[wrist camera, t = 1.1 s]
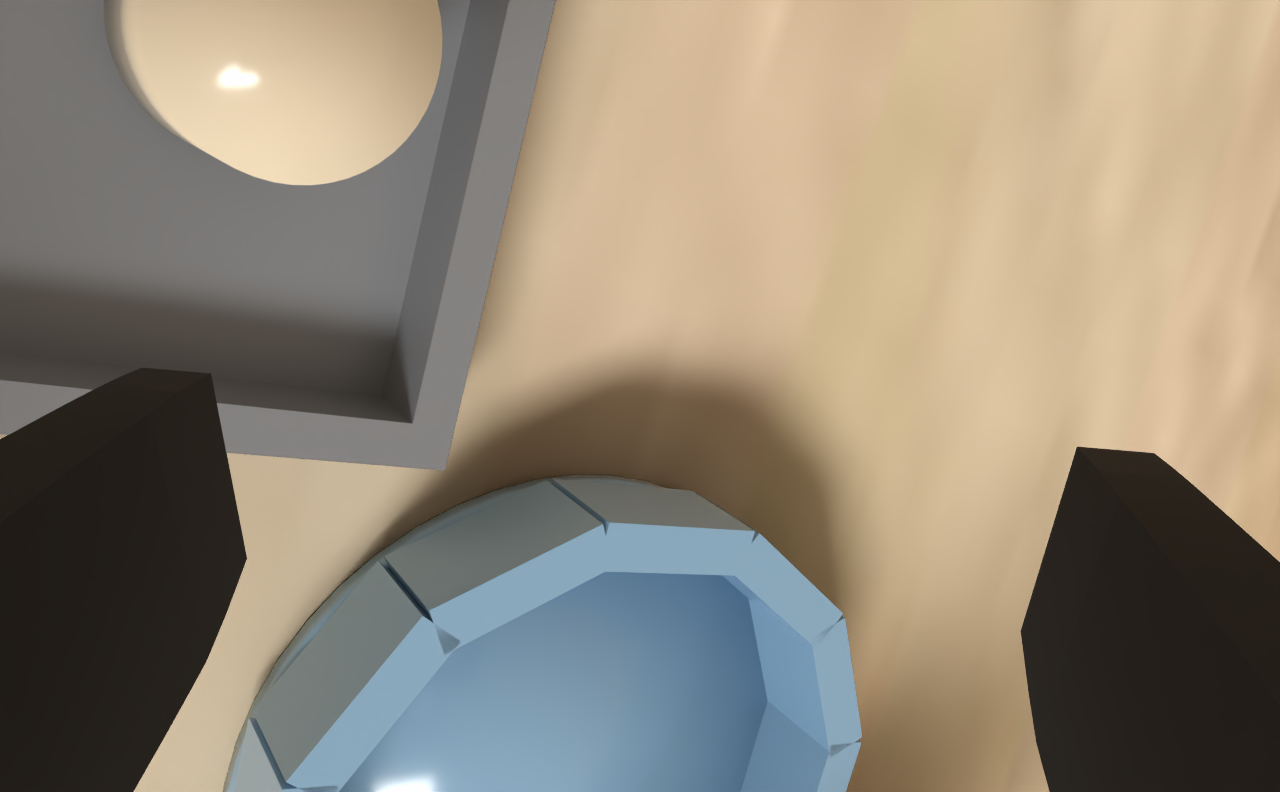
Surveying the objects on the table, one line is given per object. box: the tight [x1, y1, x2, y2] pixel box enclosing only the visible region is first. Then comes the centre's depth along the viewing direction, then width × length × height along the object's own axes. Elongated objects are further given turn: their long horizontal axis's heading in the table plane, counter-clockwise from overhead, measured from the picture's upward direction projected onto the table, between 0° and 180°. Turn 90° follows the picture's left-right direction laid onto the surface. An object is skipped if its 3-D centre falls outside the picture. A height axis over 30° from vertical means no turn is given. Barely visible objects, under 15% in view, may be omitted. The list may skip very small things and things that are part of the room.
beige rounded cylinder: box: [104, 0, 442, 185], centre depth 17 cm, size 4×4×3 cm
